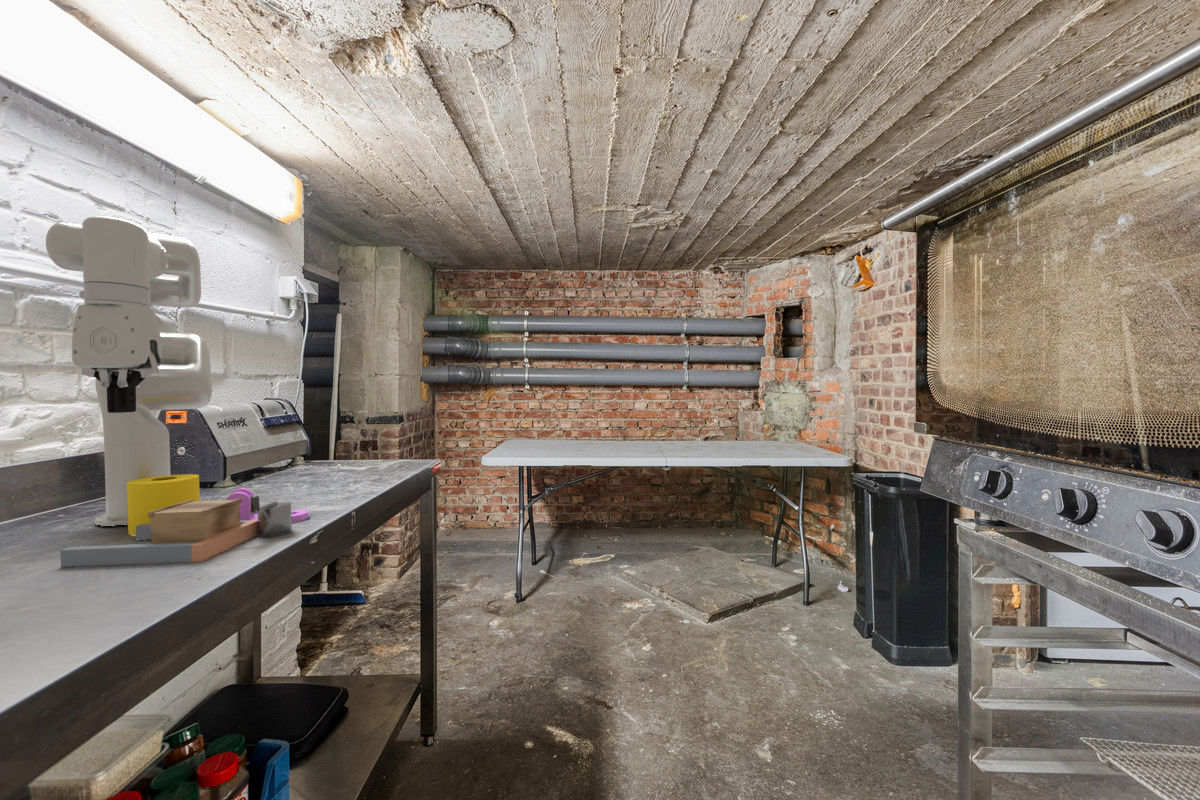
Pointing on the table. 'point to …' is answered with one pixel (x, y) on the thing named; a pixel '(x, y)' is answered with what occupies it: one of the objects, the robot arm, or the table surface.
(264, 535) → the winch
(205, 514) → the block
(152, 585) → the table surface
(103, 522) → the robot arm
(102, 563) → the bay
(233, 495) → the bracket
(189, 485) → the yellow roll
